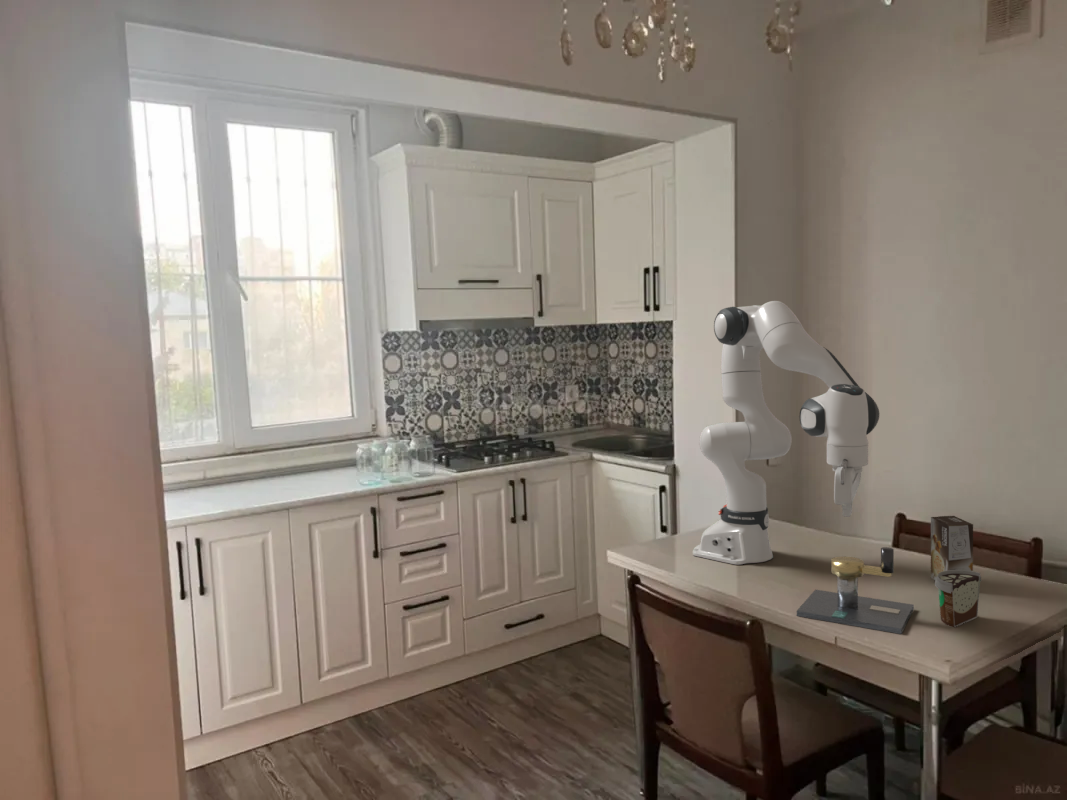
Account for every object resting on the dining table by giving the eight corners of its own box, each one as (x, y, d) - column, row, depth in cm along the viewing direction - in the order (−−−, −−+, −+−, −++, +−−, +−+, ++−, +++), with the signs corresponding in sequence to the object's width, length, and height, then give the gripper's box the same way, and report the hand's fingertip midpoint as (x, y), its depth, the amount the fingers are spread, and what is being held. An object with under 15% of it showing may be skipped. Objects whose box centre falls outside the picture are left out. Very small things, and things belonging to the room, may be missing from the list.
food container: (953, 607, 179) (954, 565, 178) (981, 615, 174) (981, 572, 173) (922, 620, 173) (923, 577, 172) (950, 629, 167) (950, 584, 166)
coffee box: (974, 588, 191) (975, 524, 189) (948, 589, 191) (948, 525, 189) (953, 576, 200) (954, 515, 198) (928, 577, 200) (929, 516, 198)
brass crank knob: (828, 574, 179) (827, 546, 179) (835, 566, 185) (835, 538, 184) (890, 583, 172) (890, 553, 171) (896, 574, 178) (896, 545, 177)
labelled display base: (796, 615, 178) (796, 580, 178) (815, 594, 192) (815, 561, 191) (901, 634, 166) (901, 596, 165) (913, 609, 179) (913, 574, 178)
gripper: (858, 465, 167) (857, 528, 168) (865, 449, 185) (865, 506, 186) (826, 464, 170) (826, 525, 171) (837, 448, 188) (837, 504, 189)
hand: (847, 515), depth 179 cm, fingers closed
